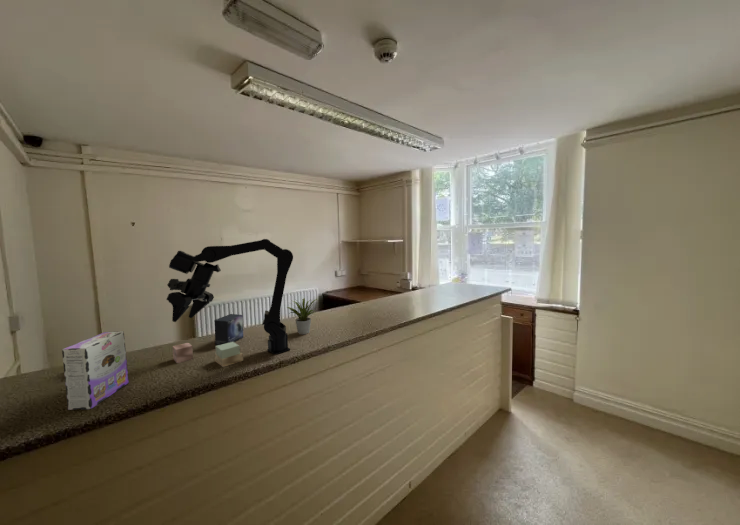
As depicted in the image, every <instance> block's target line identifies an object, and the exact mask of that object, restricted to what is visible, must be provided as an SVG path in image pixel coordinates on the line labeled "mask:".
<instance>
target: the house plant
mask: <svg viewBox="0 0 740 525" xmlns="http://www.w3.org/2000/svg"><path fill="white" fill-rule="evenodd" d="M301 299H302V303H300V302H298V300H296V299H295V301H294V300H292V302H293V303H290V302H289V304H290V305H292V306H294V304H295V305H296V306H297V309H296V308H292V307H290V306H286V308H287V309H289V310H290V311H291V312H289V314H291V313H292V314H295V315H296V316H297V318H296V319H295V325H296V329H297V330H296V331H297V334H298V333H299V334H298V335H308V334H309V333H310V332H311V331H310V330H311V322H312V318H311V317H309V316H310V315H313V314H314V312H316V310H314V309H311V308H312V307H313V304H314V303H315V301H317V300H318V298H316V299H314V300H311V299H310V300H307V301H306V300H305V297H303V298H301ZM310 301H311V302H310ZM309 302H310V303H309ZM313 311H314V312H313ZM307 333H308V334H307Z"/></svg>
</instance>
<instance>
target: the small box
mask: <svg viewBox="0 0 740 525" xmlns="http://www.w3.org/2000/svg"><path fill="white" fill-rule="evenodd" d="M243 318H244V316H243V314H235V313H229V314H227V315H223V316H221V317H219V318H216V319H214V344H215V346H218V345H222V344H226V343H230V342H234V343H236V342H237V341H240V340H242V339H244V321H243V320H244V319H243ZM239 339H240V340H239Z"/></svg>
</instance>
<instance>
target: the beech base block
mask: <svg viewBox="0 0 740 525" xmlns="http://www.w3.org/2000/svg"><path fill="white" fill-rule="evenodd" d="M214 361H215V363H217V364H218V365H219V366H221V367H222V368H223V367H227V366H230V365H233V364H237V363H241V362H243V361H244V353H243V352H241V351H240V354H238V355H234V356H231V357H227V358H224V359H221V358H220V357H219V356H218V355H216V353H215V354H214Z"/></svg>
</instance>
